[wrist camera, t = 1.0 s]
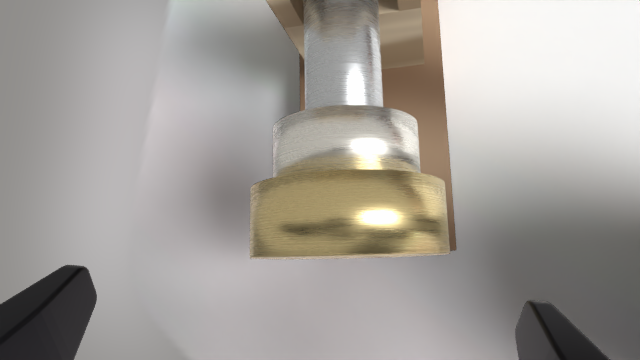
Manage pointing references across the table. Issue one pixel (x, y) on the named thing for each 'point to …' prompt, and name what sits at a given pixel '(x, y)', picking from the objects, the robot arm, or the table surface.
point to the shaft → (346, 156)
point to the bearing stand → (401, 76)
